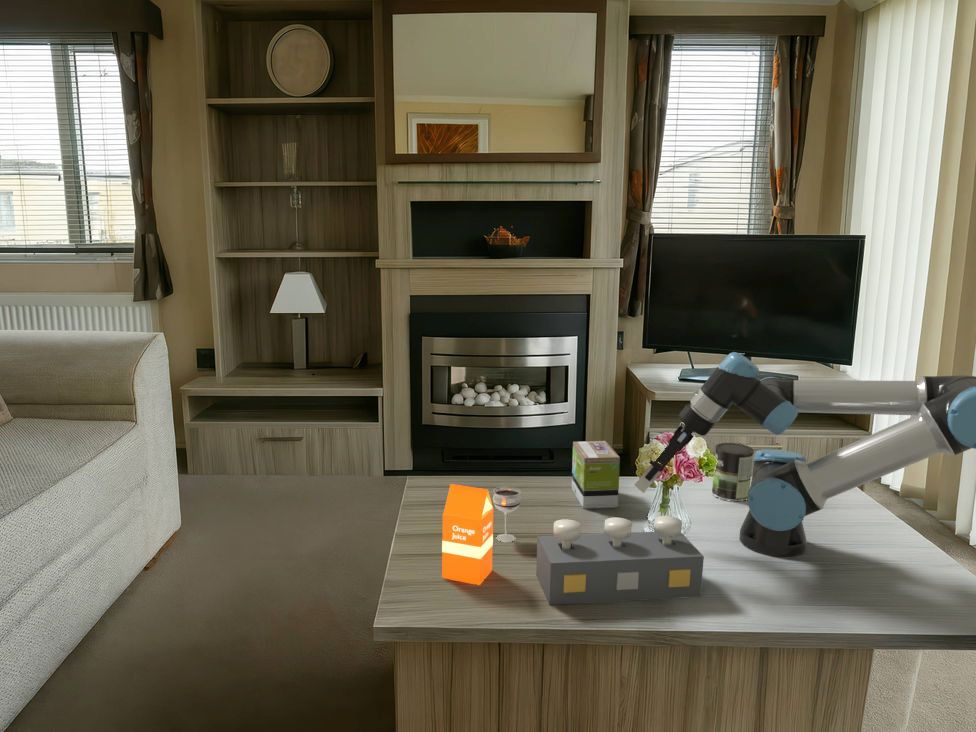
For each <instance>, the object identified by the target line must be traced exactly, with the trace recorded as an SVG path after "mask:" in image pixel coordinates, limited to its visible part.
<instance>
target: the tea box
mask: <svg viewBox="0 0 976 732" xmlns="http://www.w3.org/2000/svg"><path fill="white" fill-rule="evenodd" d="M571 460H572V462H571V463H572V466H571V467H572V468H571V490H572V492H573V493H574V495H575V497H576V498H577V500H578V502H579V504H580V506H581V507H582V508H583V510H584V509H585V510H586V509H587V510H589V509H613V508H618V505H619V487H620V486H619V485H620V484H619V483H620V466H621V463H620V462H621V457H620V456H619V455H618V453H617V452H616V451H615V450H614V449H613V448H612V446H611V445H610V444H609V443H608V442H607V441H606V440H591V441H590V440H589V441H588V440H587V441H573V442H572V459H571Z"/></svg>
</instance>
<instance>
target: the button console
mask: <svg viewBox="0 0 976 732" xmlns="http://www.w3.org/2000/svg"><path fill="white" fill-rule="evenodd" d="M536 542H537V543H536V573H535V575H536V577H537V580H538V582H539V585H540V587H541V589H542V591H543V594H544V596H545V599H546V601H547V604H548V605H549V606H552V605H556V606H557V605H572V604H574V605H575V604H589V603H590V604H591V603H593V604H594V603H611V602H612V603H613V602H625V601H626V602H627V601H647V600H650V601H651V600H665V599H683V598H684V599H685V598H701V594H702V581H703V572H704V571H703V570H704V569H703V568H704V560H705V559H704V558H705V557H704V555H703V554H702V553H701V552H700V550H698V549H697V547H695V545H694V544H693V543H692V542H691V541H690V540H689V539H688V538H687V537H686V536H685V535H684V534H683V533H682V532H681V534H680V535H679V536H675V537H672V538H671V545H662V542H663V536H662V535H659V534H657V533H656V532H655V531H641V532H640V531H639V532H635V531H634V532H633V531H631V536H630V537H629V538H625V539H622V543H621V547H613V538H611V537H608V536H607V535H605V533H587V534H586V533H583V534H580V538H579V539H577V540H574V541H571V549H562V540H559V539H557V538H555V537H554V535H539V536H537V541H536Z"/></svg>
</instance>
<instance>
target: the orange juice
mask: <svg viewBox="0 0 976 732" xmlns="http://www.w3.org/2000/svg"><path fill="white" fill-rule="evenodd" d="M493 505H494V504H493V501H492V500H491V496H490V493H489V489H485V488H480V487H473V486H466V485H461V484H460V485H459V484H453V483H450V484H449V490H448V493H447V498H446V501H445V505H444V510H443V513H442V542H441V552H442V554H441V555H442V556H441V557H442V558H441V561H442V562H441V563H442V565H441V567H442V569H441V571H442V572H441V573H442V575H441V578H442V579H446V580H451V581H457V582H462V583H466V584H471V585H476V584H477V586H481V585H482V583H483V582H484V581H485V580H486V578H487V577H488V576H489V575H490V573H491V572H492V571H493V545H494V544H493V543H494V507H493ZM484 579H485V580H484Z"/></svg>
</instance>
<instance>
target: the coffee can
mask: <svg viewBox="0 0 976 732" xmlns="http://www.w3.org/2000/svg"><path fill="white" fill-rule="evenodd" d="M754 452H755V450H754V448H753V447H750V446H748V445H746V444H742V443H738V442H736V443H735V442H722V443H717V444H715V453H714V454H715V456H714V458H715V457H716V458H717V461H718V462H717V466H716V470H715V472H714V471H713V478H712V479H713V480H712V487H711V488H712V489H711V494H713V495H715V496H716V497H718V498H720V499H719V500H721V499H724V500H723V501H725V500H730V501H729V502H731V501H742V500H746V499H748V492H749V489H750V486H751V480H752V477H751V476H752V469H753V468H752V466H753V460H754V457H753V456H754V454H755V453H754ZM713 495H712V496H713ZM715 496H714V497H715ZM716 497H715V498H716ZM718 498H717V499H718ZM746 501H747V500H746ZM742 502H743V501H742Z"/></svg>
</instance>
